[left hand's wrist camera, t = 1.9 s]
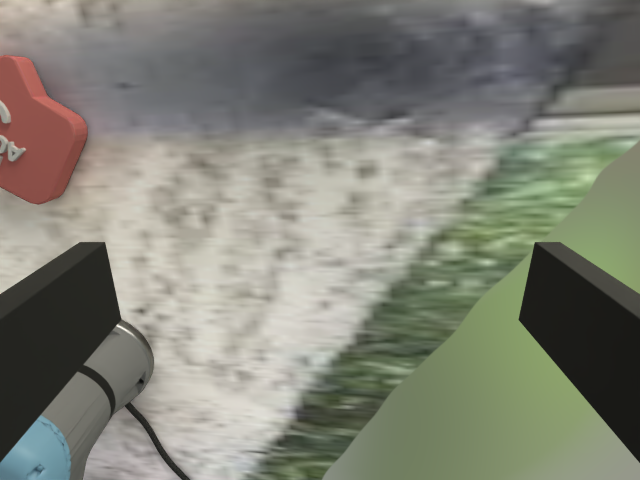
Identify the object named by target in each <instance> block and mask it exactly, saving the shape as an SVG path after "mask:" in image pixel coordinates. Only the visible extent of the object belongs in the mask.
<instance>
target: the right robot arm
mask: <svg viewBox="0 0 640 480" xmlns="http://www.w3.org/2000/svg"><path fill="white" fill-rule="evenodd" d="M153 368H154V358H153V353H152V350H151V348H150V346H149V344H148V342H147V341H146V339H145V338H144V337H143V335H142V334H141V333H140V332H139V331H138V330H137V329H135V328H134V327H133V326H131V325H130V324H128V323H126V322H125V321H123V320H121V321H120V322H119V323H118V324H117V326H116V327H115V328H114V329H113V330H112V331H111V333H110V334H109V335H108V336H107V337H106V339H105V340H104V341H103V342H102V343H101V344H100V346H99V347H98V348H97V349H96V350H95V352H94V353H93V354H92V355H91V356H90V357H89V359H88V360H87V361H86V362H85V363H84V365H83V366H82V367H81V368H80V369H79V370H78V372H77V373H76V374H75V375H74V376H73V378H72V379H71V380H70V381H69V382H68V383H67V385H66V386H65V387H64V388H63V389H62V390H61V392H60V393H59V394H58V395H57V396H56V398H55V399H54V400H53V401H52V402H51V403H50V405H49V406H48V407H47V408H46V409H45V411H44V412H43V413H42V414H41V415H40V416H39V418H38V419H37V420H36V421H35V422H34V424H33V425H32V426H31V427H30V428H29V429H28V431H27V432H26V433H25V434H24V435H23V437H22V438H21V439H20V440H19V441H18V442H17V444H16V445H15V446H14V447H13V448H12V450H11V451H10V452H9V453H8V454H7V455H6V457H5V458H4V459H3V460H2V461H1V462H0V480H83V476H84V470H85V465H86V461H87V458H88V455H89V453H90V451H91V449H92V447H93V445H94V444H95V442H96V441H97V439H98V437H99V436H100V434H101V433H102V431H103V429H104V428H105V426H106V425H107V423H108V421H109V420H110V418H111V417H112V415H113V414H115V413H116V412H117V411H118V410H120V409H121V408H122V407H124V406H125V407H126V408H127V409H128V410H129V411H130V412H131V414H132V415H133V416H134V417H135V418H136V419H137V420H138V421H139V422H140V423H141V424H142V425H143V427H144V428H145V430H146V431H147V433H148V434H149V436H150V438H151V440H152V442H153V443H154V445H155V447H156V449H157V450H158V452H159V454H160V455H161V457H162V458H163V459H164V461H165V462H166V463H167V464H168V466H169V467H170V468H171V469H172V470H173V471H174V472H175V473H176V474H177V475H178V476H179V477H180V478H181V479H182V480H190V479H189V478H188V477H187V476H186V475H185V474H184V473H183V472H182V471H181V470H180V469H179V468H178V467H177V466H176V465H175V464H174V462H173V461H172V460H171V459H170V458H169V456H168V455H167V454H166V452H165V451H164V449H163V447H162V446H161V444H160V442H159V440H158V439H157V437H156V435H155V433H154V431H153V430H152V428H151V426H150V425H149V423H148V422H147V421H146V419H145V418H144V417H143V416H142V415H141V414H140V413H139V412H138V411H137V410H136V409H135V407H134V406H133V405H132V404H131V403H130V401H131V400H133V399H134V398H135V397H136V396H138V395H139V394H140V393H141V392H142V391H143V389H144V388H145V386H146V384H147V383H148V381H149V379H150V377H151V375H152V372H153Z"/></svg>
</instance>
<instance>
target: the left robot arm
mask: <svg viewBox="0 0 640 480" xmlns="http://www.w3.org/2000/svg"><path fill="white" fill-rule="evenodd" d="M120 321H121V316H120V311H119V306H118V301H117V297H116V292H115V287H114V282H113V278H112V273H111V268H110V263H109V259H108V254H107V249H106V244H105V242H80V243H78V244H76V245H75V246H73V247H72V248H70V249H69V250H67V251H66V252H64V253H63V254H61V255H60V256H58V257H57V258H55V259H53V260H52V261H50V262H49V263H47V264H46V265H44V266H43V267H41V268H40V269H38V270H37V271H35V272H34V273H32V274H31V275H29V276H27V277H26V278H24V279H23V280H21V281H20V282H18V283H17V284H15V285H14V286H12V287H11V288H9V289H8V290H6V291H5V292H3V293H1V294H0V462H1V461H2V460H3V459H4V458H5V457H6V455H7V454H8V453H9V452H10V451H11V450H12V448H13V447H14V446H15V445H16V444H17V442H18V441H19V440H20V439H21V438H22V437H23V435H24V434H25V433H26V432H27V431H28V429H29V428H30V427H31V426H32V425H33V424H34V422H35V421H36V420H37V419H38V418H39V416H40V415H41V414H42V413H43V412H44V411H45V409H46V408H47V407H48V406H49V405H50V403H51V402H52V401H53V400H54V399H55V398H56V396H57V395H58V394H59V393H60V392H61V390H62V389H63V388H64V387H65V386H66V385H67V383H68V382H69V381H70V380H71V379H72V378H73V376H74V375H75V374H76V373H77V372H78V370H79V369H80V368H81V367H82V366H83V365H84V363H85V362H86V361H87V360H88V359H89V357H90V356H91V355H92V354H93V353H94V352H95V350H96V349H97V348H98V347H99V346H100V344H101V343H102V342H103V341H104V340H105V339H106V337H107V336H108V335H109V334H110V333H111V331H112V330H113V329H114V328H115V327H116V326H117V324H118V323H119V322H120ZM519 321H520V322H521V323H522V324H523V326H524V327H525V328H526V329H527V330H528V331H529V333H530V334H531V335H532V336H533V337H534V339H535V340H536V341H537V342H538V343H539V344H540V346H541V347H542V348H543V349H544V350H545V352H546V353H547V354H548V355H549V356H550V357H551V359H552V360H553V361H554V362H555V363H556V364H557V366H558V367H559V368H560V369H561V370H562V372H563V373H564V374H565V375H566V376H567V378H568V379H569V380H570V381H571V382H572V383H573V385H574V386H575V387H576V388H577V389H578V390H579V392H580V393H581V394H582V395H583V396H584V398H585V399H586V400H587V401H588V402H589V403H590V405H591V406H592V407H593V408H594V409H595V410H596V412H597V413H598V414H599V415H600V416H601V418H602V419H603V420H604V421H605V422H606V423H607V425H608V426H609V427H610V428H611V429H612V431H613V432H614V433H615V434H616V435H617V437H618V438H619V439H620V440H621V441H622V442H623V444H624V445H625V446H626V447H627V448H628V450H629V451H630V452H631V453H632V454H633V455H634V457H635V458H636V459H637V460H638V461H639V462H640V294H639V293H637V292H635V291H634V290H632V289H631V288H629V287H628V286H626V285H625V284H623V283H622V282H620V281H619V280H617V279H616V278H614V277H613V276H611V275H609V274H608V273H606V272H605V271H603V270H602V269H600V268H599V267H597V266H596V265H594V264H593V263H591V262H590V261H588V260H586V259H585V258H583V257H582V256H580V255H579V254H577V253H576V252H574V251H573V250H571V249H570V248H568V247H567V246H565V245H564V244H562V243H560V242H535V244H534V249H533V254H532V259H531V263H530V268H529V273H528V278H527V282H526V287H525V292H524V297H523V301H522V306H521V311H520V316H519Z"/></svg>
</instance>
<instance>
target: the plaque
mask: <svg viewBox="0 0 640 480" xmlns="http://www.w3.org/2000/svg"><path fill="white" fill-rule="evenodd" d="M87 134H88V132H87V126H86V124H85V121H84V120H83V119H82V118H81V117H80V116H79V115H78V114H76V113H74V112H73V111H71V110H69V109H68V108H66V107H64V106H63V105H61V104H59V103H57V102H56V101H54V100H52V99H51V98H49V97H48V96H47V93H46V91H45V89H44V87H43V85H42V82H41V80H40V78H39V76H38V74H37V72H36V69H35V67H34V65H33V63H32V62H31V60H30V59H28V58H25V57H17V56H9V55H4V56H0V187H1V188H3V189H5V190H7V191H9V192H11V193H13V194H14V195H16V196H18V197H20V198H22V199H24V200H26V201H28V202H30V203H33V204H38V205H39V204H42V203H46V202H48V201H51V200H53V199H56V198H58V197H60V196H61V195H62V194H63V192H64V191H65V188H66V186H67V184H68V181H69V179H70V177H71V174H72V172H73V170H74V167H75V165H76V163H77V160H78V158H79V156H80V153H81V151H82V149H83V146H84V144H85V142H86V139H87Z"/></svg>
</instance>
